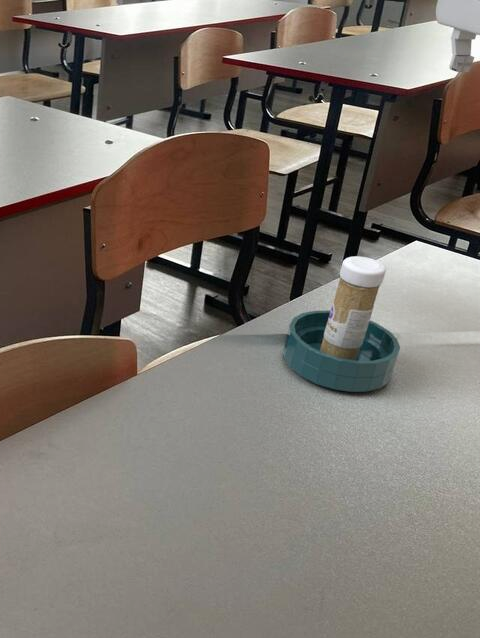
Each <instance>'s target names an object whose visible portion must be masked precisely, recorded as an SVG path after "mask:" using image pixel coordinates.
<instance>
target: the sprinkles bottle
mask: <svg viewBox="0 0 480 638" xmlns="http://www.w3.org/2000/svg"><path fill="white" fill-rule="evenodd" d="M386 271H387V269H386V266H385V265H384V264H383V263H382V262H380V261H379V260H376V259H374V258H370V257H366V256H360V255H359V256H357V255H355V256H349V257H346V258H345V259H344V260H343V261H342V263H341V266H340V270H339V282H338V285H337V288H336V292H335V296H334V299H333V302H332V304H331V309H330V310H329V311H330V315H329V319H328V322H327V325H326V329H325V332H324V338H323V341H322V344H321V348H320V351H321V352H323V353H325V354H328V355H331V356H335V357H338V358H342V359H349V360H357V357H358V354H359V351H360V347H361V346H362V343H363V340H364V337H365V334H366V331H367V327H368V324H369V321H371V318H372V314H373V311H374V308H375V307H374V306H375V302H376V300H377V296H378V292H379V290H380V289H379V288H380V287H381V285H382V284H383V282H384V280H385V279H384V278H385V275H386Z"/></svg>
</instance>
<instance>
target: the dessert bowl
mask: <svg viewBox="0 0 480 638" xmlns="http://www.w3.org/2000/svg"><path fill="white" fill-rule="evenodd" d="M330 311H331V310H328V309H327V310H311V311H307V312H306V311H305V312H302V313H300V314H298V315H296V316H294V317H293V318H292V320H291V322H290V323H289V324H288V325H289V326H288V330H287V334H286V338H285V342H284V346H283V349H282V353H283V359H284V361H285V362H286V364H287V365H288V367H289V368H290V369H291V370H293V371H294V372H295V373H296V374H298V375H299V376H300V377H302V378H303V379H306V380H307V381H309V382H311V383H313V384H315V385H318V386H321V387H323V388H326V389H331V390H334V391H340V392H347V393H348V392H349V393H350V392H351V393H353V392H354V393H355V392H356V393H357V392H358V393H361V392H362V393H363V392H370V391H374V390H379V389H381V388H383V387H384V386H386V385H387V384H388V383H389V382H390V379H391V376H392V375H393V370H394V368H395V364H396V361H397V359H398V356H399V353H400V350H401V345H400V343H399V341H398V339H397V337H396V336H395V335H394V334H393V333H392V332H391V331H390V330H388V329H387V328H385V327H384V326H382V325H381V324H379V323H377V322H375V321H374V320H370V321H369V324H368V327H367V331H366V334H365V337H364V340H363V343H362V346H361V347H360V351H359V354H358V357H357V360H349V359H342V358H338V357H335V356H331V355H328V354H325V353H323V352H321V351H320V348H321V344H322V341H323V338H324V332H325V329H326V325H327V322H328V319H329V315H330Z"/></svg>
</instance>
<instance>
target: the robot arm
mask: <svg viewBox="0 0 480 638" xmlns="http://www.w3.org/2000/svg"><path fill="white" fill-rule="evenodd" d="M435 18H436V22H437V24H439V25H442V26H445V27H448V28H449V27H450V28H453V30H452V33H451V37H450V41H451V53H452V55H451V59H450V63H449V70H451V71H453V72H456V73H468V72H470V71H471V69H472V65H473V63H474V59H475V56H473V55H472V41H473V40H476V37H477V36H480V0H437V2H436V6H435Z"/></svg>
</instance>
